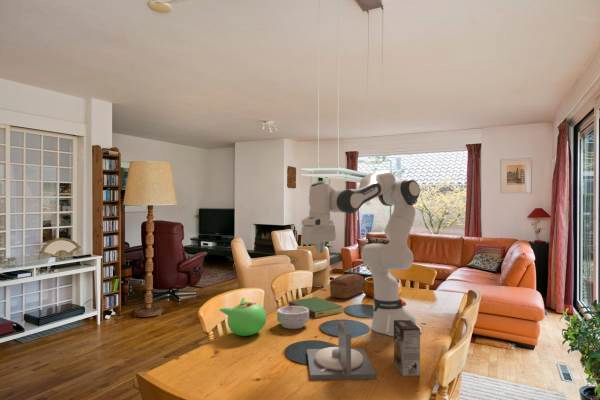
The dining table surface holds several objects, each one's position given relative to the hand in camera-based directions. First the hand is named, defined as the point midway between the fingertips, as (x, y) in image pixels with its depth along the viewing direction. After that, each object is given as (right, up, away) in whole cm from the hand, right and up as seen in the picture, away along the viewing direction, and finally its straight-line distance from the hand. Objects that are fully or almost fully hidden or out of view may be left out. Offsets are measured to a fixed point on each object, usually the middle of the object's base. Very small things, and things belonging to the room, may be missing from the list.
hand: (319, 253), depth 159 cm
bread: (+22, -38, +80) cm, 91 cm away
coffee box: (+29, -37, -27) cm, 54 cm away
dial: (+6, -35, -27) cm, 45 cm away
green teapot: (-32, -37, +9) cm, 50 cm away
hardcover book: (0, -38, +46) cm, 60 cm away
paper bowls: (-12, -38, +19) cm, 44 cm away
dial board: (+6, -37, -23) cm, 44 cm away
